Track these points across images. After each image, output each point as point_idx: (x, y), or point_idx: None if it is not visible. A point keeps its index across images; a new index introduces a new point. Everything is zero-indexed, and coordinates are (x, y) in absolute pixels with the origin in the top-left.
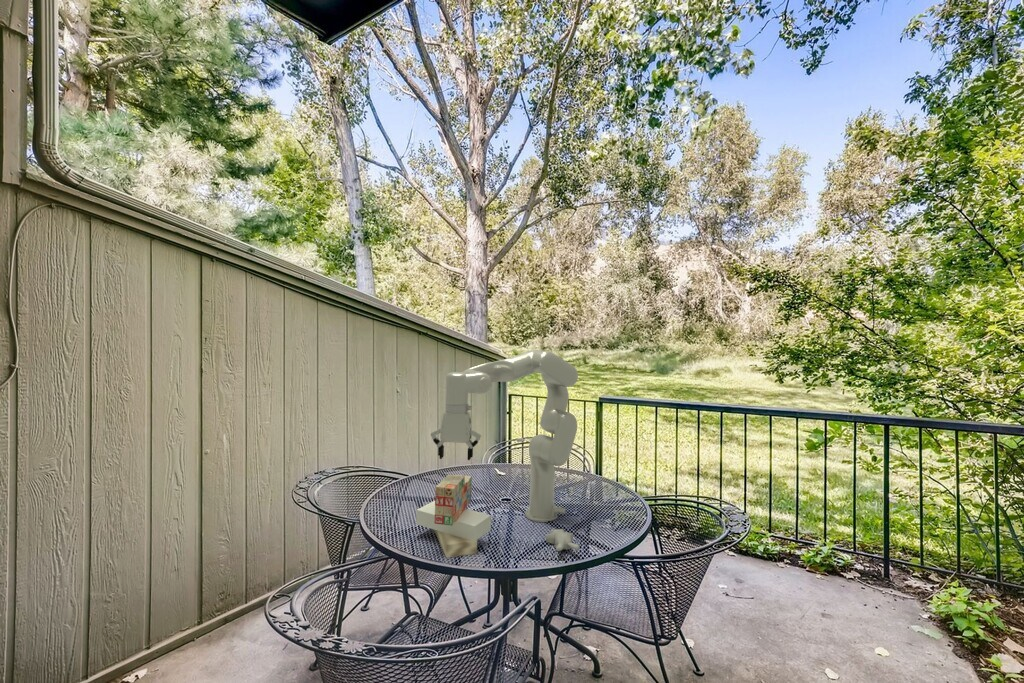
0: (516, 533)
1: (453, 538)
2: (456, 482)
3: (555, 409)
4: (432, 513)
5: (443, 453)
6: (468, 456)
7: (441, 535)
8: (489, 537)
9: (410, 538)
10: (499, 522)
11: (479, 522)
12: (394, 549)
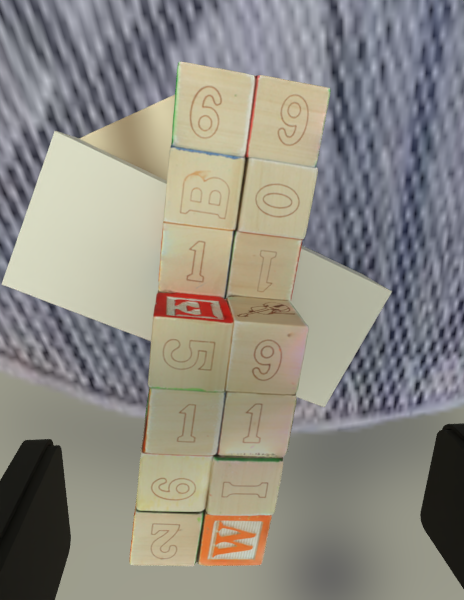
0: (444, 177)
1: None
2: (264, 482)
3: None
4: (104, 315)
5: (46, 485)
6: (459, 566)
7: None
8: (340, 226)
9: None
10: (382, 70)
11: (341, 371)
12: (11, 367)
